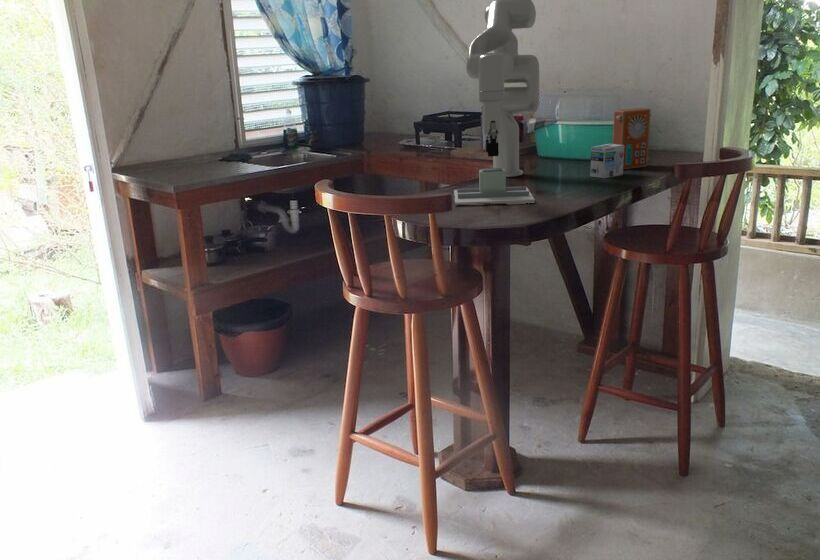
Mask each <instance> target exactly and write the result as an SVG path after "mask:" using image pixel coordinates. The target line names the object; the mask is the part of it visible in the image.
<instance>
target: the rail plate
mask: <svg viewBox="0 0 820 560" xmlns="http://www.w3.org/2000/svg"><path fill="white" fill-rule="evenodd" d="M453 195H454V196H455V198H454V205H455V204H468V203H469V204H476V203H506V204H508V205H530V204H529V203H536V202H535V201H536V199H535V198H534V196H533V195H532V193H531V192H530V190H529V188H528V187H527V186H524V185H523V186H506V192H486V193H480V192H479V187H477V188H476V187H475V188H473V187H472V188H457V189H453ZM526 203H528V204H526Z"/></svg>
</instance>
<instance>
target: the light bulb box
mask: <svg viewBox="0 0 820 560" xmlns="http://www.w3.org/2000/svg"><path fill="white" fill-rule="evenodd" d="M590 147H591V148H590V172H589V173H590V174H589V176H590V177H593V178H600V179H607V178H613V177H619V176H623V174H624V169H623V162H624V145H618V144H613V143H605V144H601V145H595V146H594V145H593V146H590Z"/></svg>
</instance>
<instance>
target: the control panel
mask: <svg viewBox="0 0 820 560" xmlns="http://www.w3.org/2000/svg"><path fill="white" fill-rule="evenodd" d="M651 117H652V113H651V108H644V107H637V108H627V109H616V110H615V109H614V111H613V124H612V125H613V129H612V144H618V145H624V162H623V170H630V169H636V168H637V169H639V168H646V167H648V161H649V160H650V158H649V157H648V156H649V143H650V142H649V139H650V138H649V137H650V123H651Z"/></svg>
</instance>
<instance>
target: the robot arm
mask: <svg viewBox="0 0 820 560" xmlns="http://www.w3.org/2000/svg"><path fill="white" fill-rule="evenodd" d="M536 18H537V11H536V5H535V4H534V2H533V0H493V1H492V2H491V3H490V4H489V5H488V6H487V7H486V8H485V9H484V20H485V30H483V32H480V34H479V35H477V36H476V37H475V38H474V40H472V42H471V44H470V45H469V47H468V52H467V58H466V69H465V70H466V73H467V76H468V77H469V78H471V79H474V80H478V100H479V101H478V103H481V104H482V106H481V108H482V111H481V114H482V115H481V117H482V118H481V119H482V123H481V125H482V132H481V133H482V135H483V136H485V137H486V139H485V152H486V153H487V156H488V157H489V158H490V157H491V158H492V157H493V158H492V162H493V163H492V165H493V166H492V168H502V169H505V171H506V178H513V177H514V178H515V177H519V176H522V175H524V171H523V170H522V169H520V126H519V123H518V122H517V120H516V119H515V117H514V116H513V115H527V114H530V115H531V114H534V113H536V112H538V110H539V107H540V65H539V60H538V58H537V56H535V55H533V54H519V41H518V38H517V35H516V34H514V32H513V30H515V29H517V30H518V29H520V30H521V29H529V28H530V29H531V28H532V27H533V26H534V24H535V23H536ZM522 83H524V84H525V85H526V86H505V84H522Z"/></svg>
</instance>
